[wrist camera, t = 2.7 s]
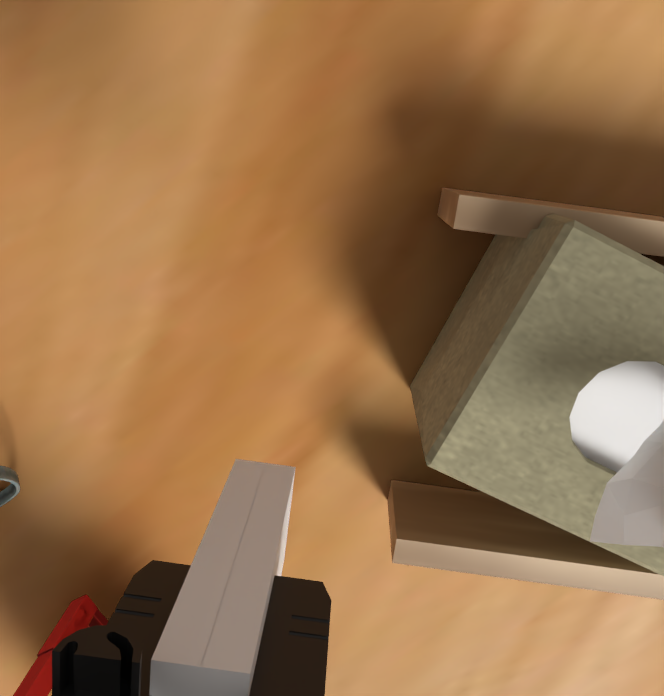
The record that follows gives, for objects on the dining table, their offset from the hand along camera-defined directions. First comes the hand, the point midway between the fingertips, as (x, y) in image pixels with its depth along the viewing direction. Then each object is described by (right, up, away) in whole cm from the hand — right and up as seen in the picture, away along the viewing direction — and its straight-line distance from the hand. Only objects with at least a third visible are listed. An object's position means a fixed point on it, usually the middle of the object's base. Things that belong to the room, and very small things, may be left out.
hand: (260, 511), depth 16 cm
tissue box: (+16, +3, +14) cm, 21 cm away
